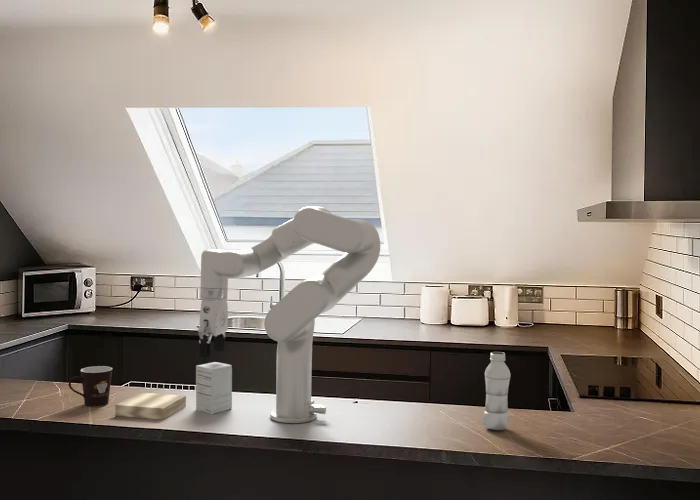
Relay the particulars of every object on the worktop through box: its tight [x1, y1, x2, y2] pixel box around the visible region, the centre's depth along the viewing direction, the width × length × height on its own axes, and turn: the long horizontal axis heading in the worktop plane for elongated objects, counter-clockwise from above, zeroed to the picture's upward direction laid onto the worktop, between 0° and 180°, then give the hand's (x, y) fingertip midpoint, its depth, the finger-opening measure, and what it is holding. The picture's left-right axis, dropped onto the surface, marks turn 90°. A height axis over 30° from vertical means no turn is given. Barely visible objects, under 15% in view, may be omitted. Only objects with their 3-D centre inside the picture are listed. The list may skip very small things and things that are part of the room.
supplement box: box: [195, 361, 233, 415], centre depth 199 cm, size 7×7×13 cm
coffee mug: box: [68, 365, 113, 408], centre depth 203 cm, size 12×9×10 cm
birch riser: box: [114, 392, 187, 421], centre depth 197 cm, size 14×14×3 cm
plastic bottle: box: [482, 351, 511, 431], centre depth 184 cm, size 6×7×20 cm
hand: (212, 354), depth 199 cm, fingers open, 9 cm apart
